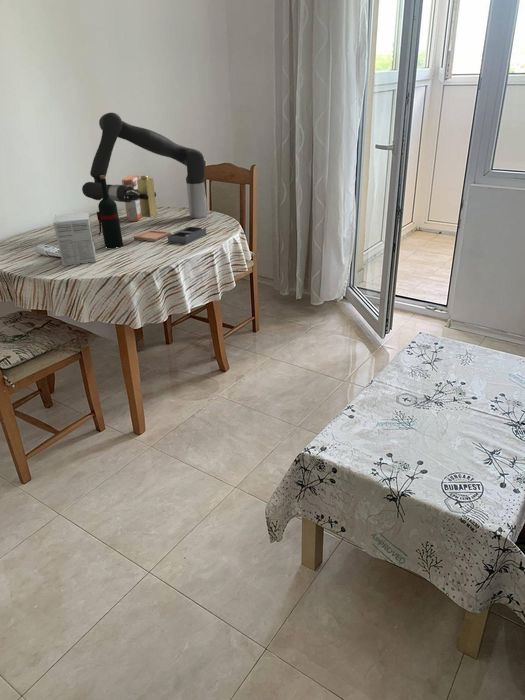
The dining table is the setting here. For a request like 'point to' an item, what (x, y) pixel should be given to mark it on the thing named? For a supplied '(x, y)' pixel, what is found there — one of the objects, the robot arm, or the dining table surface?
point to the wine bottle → (109, 219)
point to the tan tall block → (148, 188)
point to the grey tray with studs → (186, 235)
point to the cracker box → (134, 206)
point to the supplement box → (75, 238)
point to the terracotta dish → (152, 235)
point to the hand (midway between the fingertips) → (151, 195)
